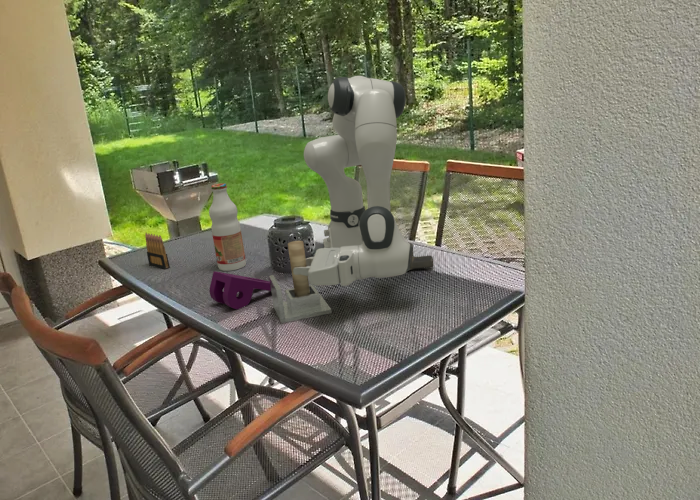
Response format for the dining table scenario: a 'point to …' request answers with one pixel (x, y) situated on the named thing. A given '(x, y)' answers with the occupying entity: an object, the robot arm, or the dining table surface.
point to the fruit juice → (226, 230)
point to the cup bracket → (297, 303)
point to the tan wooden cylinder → (298, 260)
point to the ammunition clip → (156, 251)
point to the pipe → (420, 261)
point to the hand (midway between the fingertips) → (295, 267)
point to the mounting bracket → (235, 289)
